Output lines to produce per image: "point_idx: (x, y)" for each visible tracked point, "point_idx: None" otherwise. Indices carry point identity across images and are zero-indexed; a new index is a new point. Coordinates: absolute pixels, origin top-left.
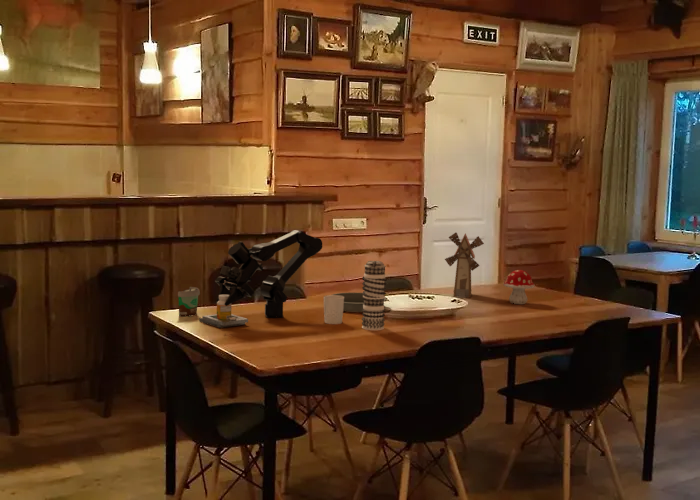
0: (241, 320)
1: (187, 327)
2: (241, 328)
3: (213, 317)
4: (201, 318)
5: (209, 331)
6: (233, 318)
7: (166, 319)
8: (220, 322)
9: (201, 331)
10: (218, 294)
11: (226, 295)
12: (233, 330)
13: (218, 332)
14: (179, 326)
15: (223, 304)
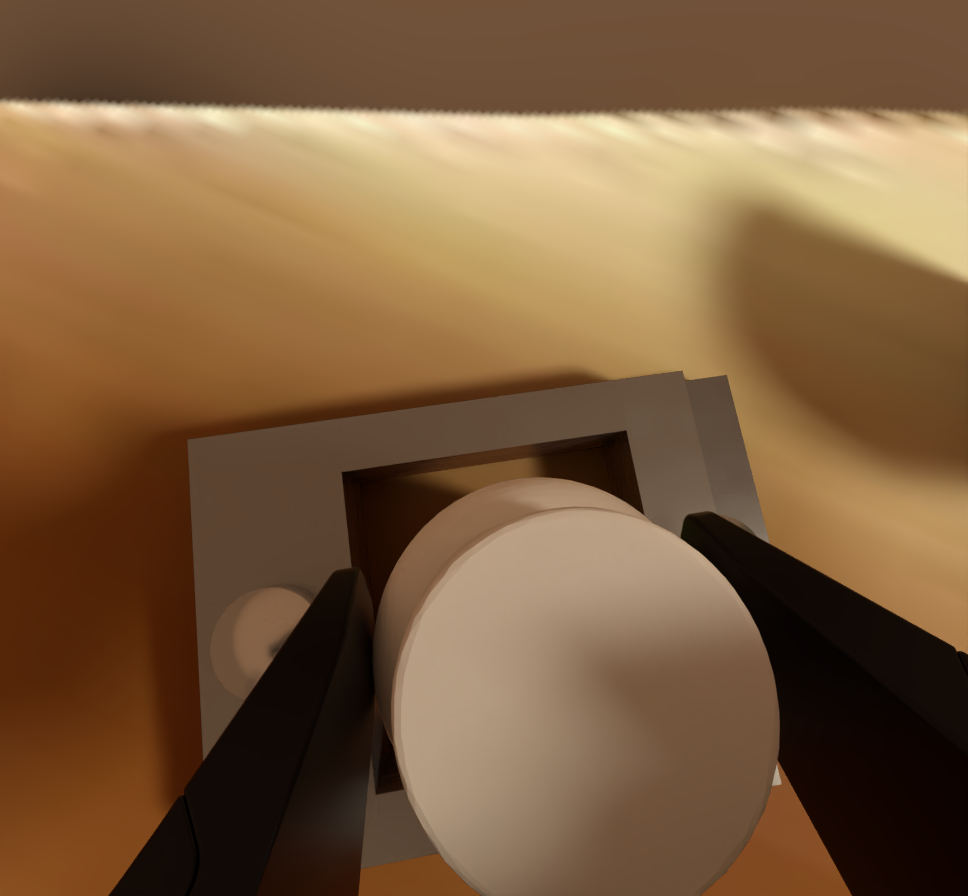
0: (206, 754)
1: (477, 174)
2: (137, 667)
3: (635, 506)
4: (704, 389)
5: (197, 280)
6: (214, 630)
7: (907, 148)
8: (258, 433)
9: (241, 215)
10: (915, 629)
11: (512, 768)
12: (95, 528)
13: (101, 340)
14: (553, 131)
15: (401, 560)
